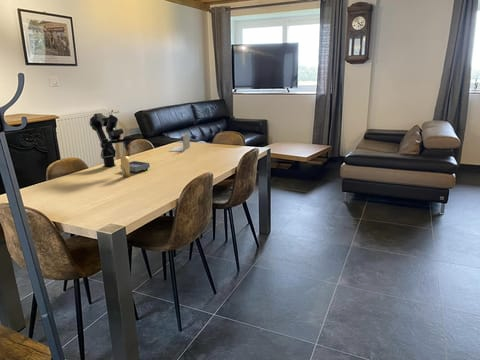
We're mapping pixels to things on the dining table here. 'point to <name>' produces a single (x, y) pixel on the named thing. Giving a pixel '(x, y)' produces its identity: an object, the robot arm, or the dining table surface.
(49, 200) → the dining table surface
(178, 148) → the laptop
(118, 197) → the dining table surface
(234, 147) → the dining table surface
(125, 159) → the gold cylinder
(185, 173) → the dining table surface
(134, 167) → the gray rectangular tray
